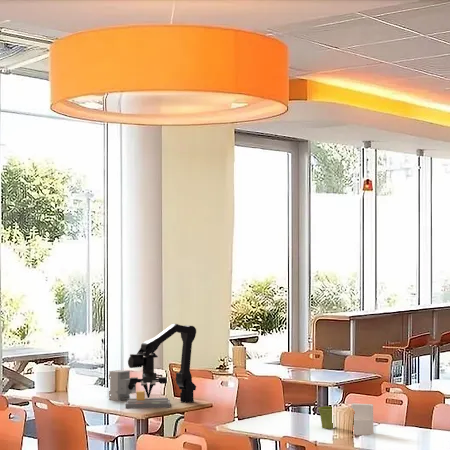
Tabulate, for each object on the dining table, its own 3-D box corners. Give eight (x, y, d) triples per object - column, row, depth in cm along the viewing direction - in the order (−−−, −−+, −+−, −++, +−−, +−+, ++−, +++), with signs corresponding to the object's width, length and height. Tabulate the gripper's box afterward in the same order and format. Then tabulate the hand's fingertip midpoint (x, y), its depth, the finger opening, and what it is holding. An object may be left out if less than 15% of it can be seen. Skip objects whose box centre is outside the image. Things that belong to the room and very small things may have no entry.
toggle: (144, 400, 484) (144, 390, 484) (144, 402, 479) (144, 392, 479) (137, 400, 484) (136, 390, 484) (136, 402, 479) (136, 392, 479)
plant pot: (325, 430, 404) (324, 410, 404) (314, 427, 413) (314, 407, 413) (344, 428, 408) (343, 408, 408) (333, 425, 416) (332, 405, 417)
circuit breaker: (128, 401, 498) (128, 372, 498) (108, 399, 506) (108, 371, 507) (138, 399, 504) (138, 371, 504) (118, 397, 512) (118, 370, 513)
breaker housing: (170, 403, 489) (170, 397, 489) (169, 407, 475) (169, 401, 475) (127, 404, 488) (127, 397, 488) (125, 408, 474) (125, 401, 474)
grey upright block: (349, 434, 394) (349, 405, 395) (354, 430, 403) (354, 402, 403) (371, 435, 391) (370, 406, 392) (375, 431, 399) (375, 403, 400)
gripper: (129, 368, 474) (129, 400, 473) (166, 368, 475) (166, 399, 474) (130, 366, 485) (130, 397, 484) (166, 365, 486) (166, 396, 485)
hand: (148, 397), depth 482 cm, fingers closed
